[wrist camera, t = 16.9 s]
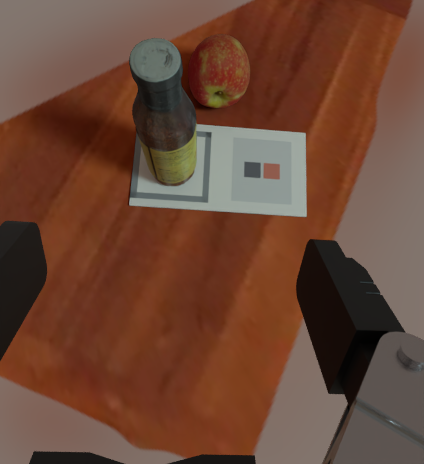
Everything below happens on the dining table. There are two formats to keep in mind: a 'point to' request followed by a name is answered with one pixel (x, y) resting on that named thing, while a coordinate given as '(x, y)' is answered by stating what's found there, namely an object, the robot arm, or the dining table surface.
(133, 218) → the dining table surface
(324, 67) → the dining table surface
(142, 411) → the dining table surface
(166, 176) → the sauce bottle
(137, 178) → the mat
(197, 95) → the apple
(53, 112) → the dining table surface
